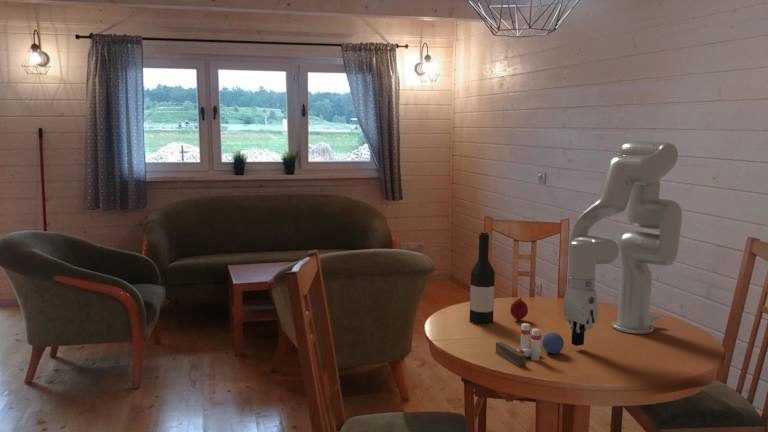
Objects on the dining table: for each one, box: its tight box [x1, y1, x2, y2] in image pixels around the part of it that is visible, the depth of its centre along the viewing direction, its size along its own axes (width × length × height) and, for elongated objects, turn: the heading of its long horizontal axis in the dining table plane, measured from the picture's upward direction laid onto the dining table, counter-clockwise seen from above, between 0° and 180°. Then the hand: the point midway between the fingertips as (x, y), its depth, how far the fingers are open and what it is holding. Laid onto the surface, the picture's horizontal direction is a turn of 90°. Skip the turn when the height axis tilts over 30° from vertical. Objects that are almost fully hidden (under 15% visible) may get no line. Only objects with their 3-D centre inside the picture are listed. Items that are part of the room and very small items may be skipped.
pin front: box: [516, 347, 543, 358], centre depth 182 cm, size 2×2×8 cm
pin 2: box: [530, 328, 542, 362], centre depth 180 cm, size 2×2×8 cm
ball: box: [541, 332, 565, 355], centre depth 185 cm, size 6×6×6 cm
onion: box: [509, 296, 529, 321], centre depth 216 cm, size 6×6×8 cm
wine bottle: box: [469, 230, 496, 326], centre depth 214 cm, size 8×8×30 cm
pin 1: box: [520, 322, 531, 349], centre depth 185 cm, size 2×2×8 cm
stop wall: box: [495, 341, 527, 368], centre depth 180 cm, size 2×12×3 cm, turn 22°
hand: (577, 344), depth 189 cm, fingers closed
